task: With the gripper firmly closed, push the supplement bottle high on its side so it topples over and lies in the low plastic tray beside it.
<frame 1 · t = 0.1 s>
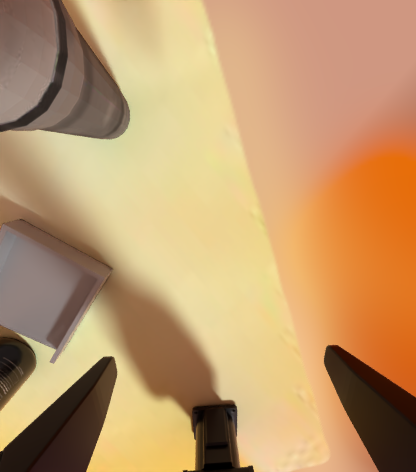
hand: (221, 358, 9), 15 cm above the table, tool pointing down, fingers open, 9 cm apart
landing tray: (44, 291, 24), on the table
beverage cup: (105, 112, 19), on the table
supplement bottle: (12, 355, 26), on the table
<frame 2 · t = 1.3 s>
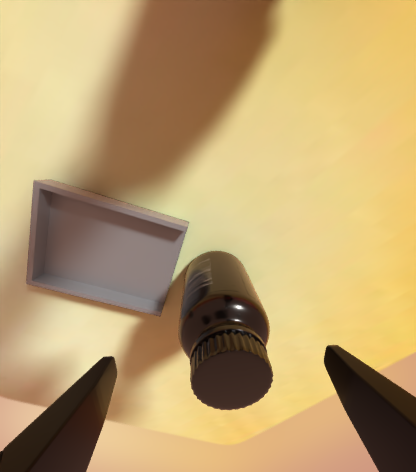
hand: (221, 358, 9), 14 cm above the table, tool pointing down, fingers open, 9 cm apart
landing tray: (112, 248, 22), on the table
supplement bottle: (215, 276, 23), on the table
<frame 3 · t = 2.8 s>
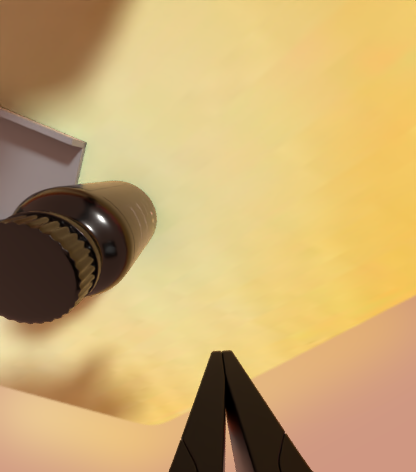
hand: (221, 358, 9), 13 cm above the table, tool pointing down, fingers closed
supplement bottle: (124, 216, 20), on the table
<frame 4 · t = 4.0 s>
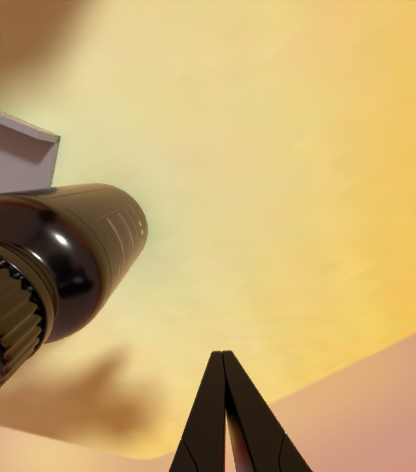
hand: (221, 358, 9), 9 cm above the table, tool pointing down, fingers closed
supplement bottle: (109, 225, 17), on the table
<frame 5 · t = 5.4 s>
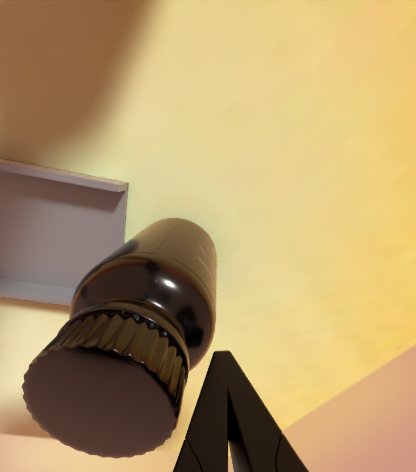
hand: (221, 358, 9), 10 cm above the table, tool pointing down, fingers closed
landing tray: (38, 231, 17), on the table
supplement bottle: (178, 254, 18), on the table, touching gripper
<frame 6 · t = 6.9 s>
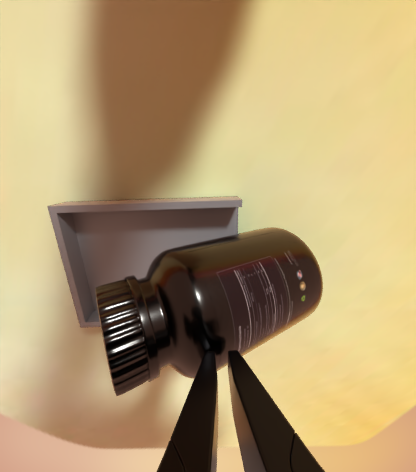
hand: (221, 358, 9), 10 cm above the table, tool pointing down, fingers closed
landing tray: (158, 259, 18), on the table
supplement bottle: (284, 270, 15), point 3 cm above the table, touching gripper
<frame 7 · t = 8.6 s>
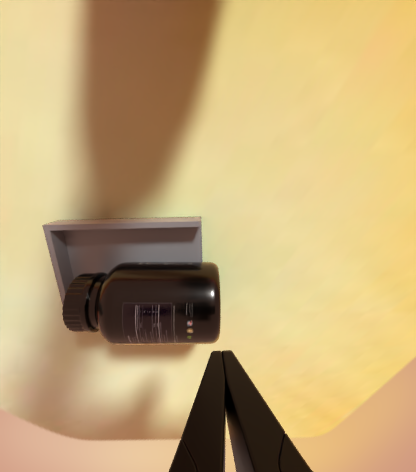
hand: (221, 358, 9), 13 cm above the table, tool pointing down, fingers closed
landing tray: (136, 268, 21), on the table
supplement bottle: (220, 301, 18), point 4 cm above the table, touching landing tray
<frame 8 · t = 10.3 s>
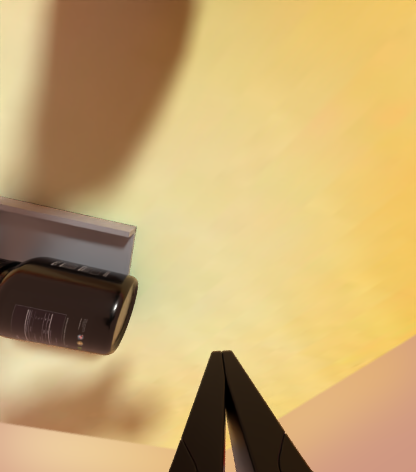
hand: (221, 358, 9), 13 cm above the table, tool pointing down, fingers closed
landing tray: (62, 259, 21), on the table
supplement bottle: (129, 315, 19), point 4 cm above the table, touching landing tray
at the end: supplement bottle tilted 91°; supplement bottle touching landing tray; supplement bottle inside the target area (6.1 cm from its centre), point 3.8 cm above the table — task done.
